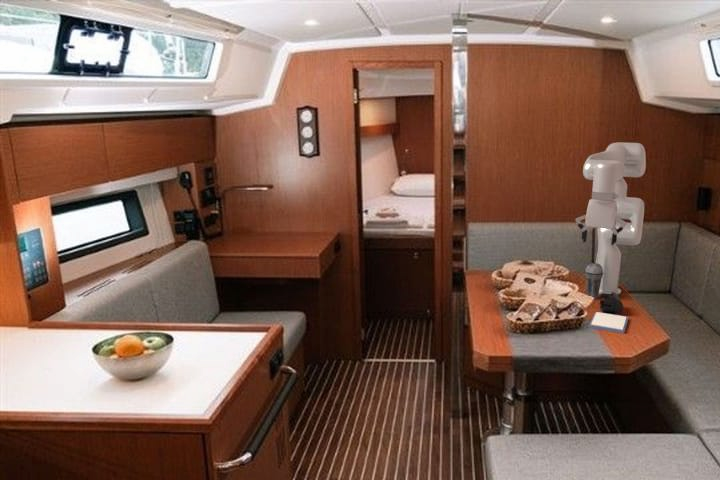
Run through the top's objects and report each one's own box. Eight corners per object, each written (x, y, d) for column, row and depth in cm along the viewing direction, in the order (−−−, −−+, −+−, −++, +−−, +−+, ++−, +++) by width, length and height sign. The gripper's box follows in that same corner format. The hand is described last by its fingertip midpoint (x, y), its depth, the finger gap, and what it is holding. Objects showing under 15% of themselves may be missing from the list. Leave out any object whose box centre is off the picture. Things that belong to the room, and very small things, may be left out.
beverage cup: (578, 296, 251) (583, 251, 247) (591, 294, 254) (595, 250, 250) (592, 301, 245) (596, 255, 240) (604, 299, 248) (609, 253, 243)
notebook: (594, 314, 230) (595, 311, 230) (628, 319, 224) (628, 316, 224) (588, 327, 216) (589, 324, 216) (624, 333, 210) (624, 330, 210)
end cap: (622, 316, 228) (624, 300, 226) (602, 314, 230) (604, 298, 228) (617, 308, 237) (619, 292, 236) (599, 306, 239) (600, 291, 238)
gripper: (630, 197, 209) (625, 243, 213) (579, 193, 217) (575, 238, 221) (628, 200, 202) (623, 247, 206) (576, 196, 211) (572, 242, 214)
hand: (598, 243), depth 213 cm, fingers open, 9 cm apart
